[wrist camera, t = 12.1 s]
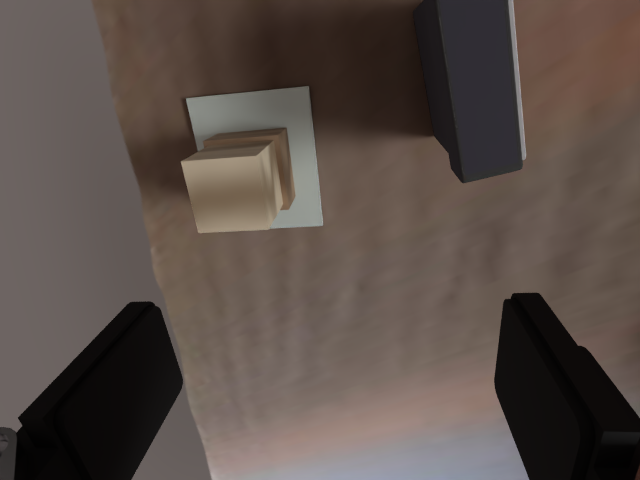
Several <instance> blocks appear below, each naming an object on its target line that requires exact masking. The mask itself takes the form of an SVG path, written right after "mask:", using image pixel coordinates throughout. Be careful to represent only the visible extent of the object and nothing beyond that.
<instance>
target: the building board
mask: <svg viewBox="0 0 640 480" xmlns="http://www.w3.org/2000/svg"><path fill="white" fill-rule="evenodd" d="M186 101H187V106H188V110H189V115H190V119H191V123H192V128H193V132H194V136H195V141H196V145H197V150H198V151H200V150H202V149H204V145H203V141H204V140H206V139H208V138H210V137H212V136H214V135H216V134H218V133H228V132H240V131H252V130H263V129H275V128H287V133H288V141H289V148H290V156H291V164H292V172H293V179H294V187H295V195H296V197H295V199H294V201H293V203H292V204H291V206H290V208H289V210H280V211H279V212H278V214H277V216H276V218H275V219H274V221H273V223H272V225H271V227H270V228H289V227H309V226H323V217H322V208H321V198H320V188H319V178H318V168H317V159H316V149H315V139H314V129H313V119H312V110H311V100H310V90H309V86H304V87H294V88H283V89H273V90H263V91H253V92H243V93H233V94H223V95H213V96H203V97H193V98H186Z"/></svg>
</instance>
